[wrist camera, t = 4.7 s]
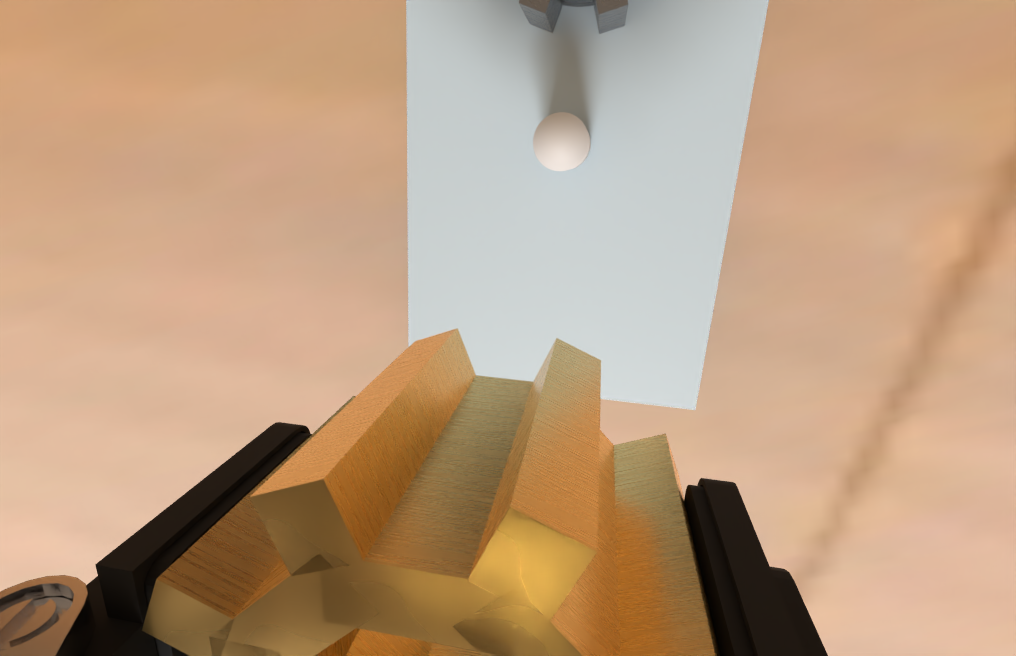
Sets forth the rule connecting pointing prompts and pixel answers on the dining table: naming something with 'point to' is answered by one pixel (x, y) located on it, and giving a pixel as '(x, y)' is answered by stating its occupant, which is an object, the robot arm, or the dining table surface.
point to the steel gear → (546, 3)
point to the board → (576, 183)
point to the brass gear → (451, 530)
